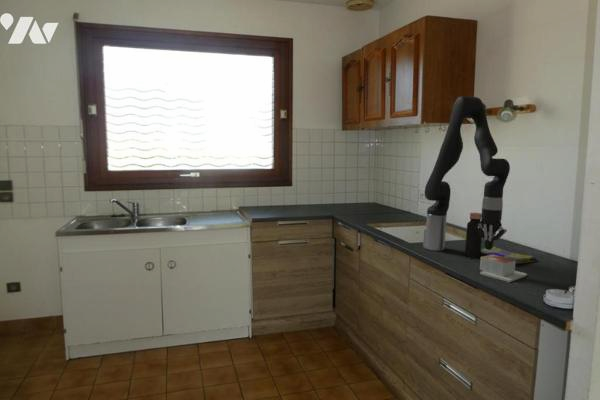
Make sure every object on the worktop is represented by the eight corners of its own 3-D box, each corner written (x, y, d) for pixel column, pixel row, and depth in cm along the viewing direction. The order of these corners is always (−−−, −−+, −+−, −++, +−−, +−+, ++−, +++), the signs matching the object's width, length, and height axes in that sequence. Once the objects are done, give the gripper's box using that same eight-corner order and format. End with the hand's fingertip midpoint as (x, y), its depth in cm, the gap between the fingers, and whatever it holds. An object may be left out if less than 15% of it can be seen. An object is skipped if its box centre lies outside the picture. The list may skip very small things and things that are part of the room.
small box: (492, 254, 180) (516, 260, 171) (491, 267, 180) (515, 273, 172) (480, 256, 175) (504, 263, 167) (479, 269, 176) (503, 276, 167)
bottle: (462, 253, 204) (466, 212, 201) (477, 253, 203) (480, 212, 200) (467, 257, 197) (470, 214, 194) (482, 257, 197) (486, 215, 194)
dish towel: (491, 249, 214) (492, 244, 214) (539, 262, 194) (540, 256, 193) (468, 253, 206) (468, 248, 205) (515, 267, 185) (516, 261, 185)
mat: (479, 274, 173) (480, 272, 173) (497, 268, 181) (498, 266, 181) (509, 282, 164) (509, 280, 164) (526, 275, 172) (527, 273, 172)
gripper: (471, 206, 177) (468, 247, 180) (503, 211, 167) (499, 254, 169) (481, 204, 182) (478, 244, 184) (512, 209, 171) (509, 251, 174)
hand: (488, 249), depth 177 cm, fingers closed
